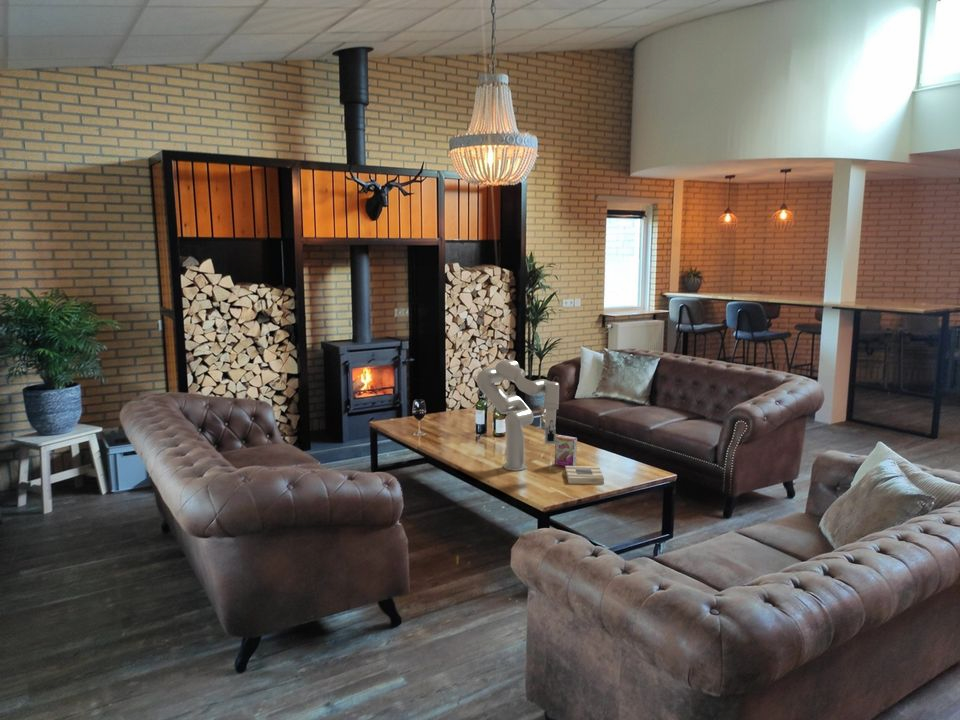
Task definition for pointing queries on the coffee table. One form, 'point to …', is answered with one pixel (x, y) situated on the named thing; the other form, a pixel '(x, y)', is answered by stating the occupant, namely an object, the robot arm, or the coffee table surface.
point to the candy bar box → (565, 450)
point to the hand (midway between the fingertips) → (550, 439)
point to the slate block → (547, 436)
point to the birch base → (584, 474)
